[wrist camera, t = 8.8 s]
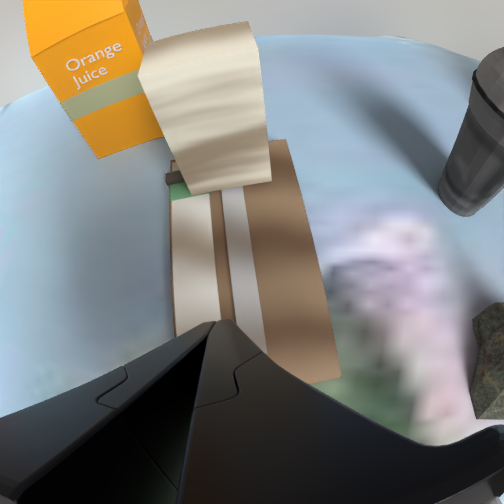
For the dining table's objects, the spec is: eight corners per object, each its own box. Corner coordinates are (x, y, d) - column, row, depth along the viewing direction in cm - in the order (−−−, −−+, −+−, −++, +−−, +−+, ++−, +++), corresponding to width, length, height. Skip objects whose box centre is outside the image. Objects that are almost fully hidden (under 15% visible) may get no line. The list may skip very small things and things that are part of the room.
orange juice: (105, 116, 32) (35, -15, 14) (172, 92, 32) (120, -56, 14) (98, 160, 29) (2, 10, 11) (174, 134, 29) (104, -47, 11)
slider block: (271, 182, 23) (258, 49, 13) (167, 201, 23) (102, 88, 13) (263, 144, 24) (247, 21, 14) (168, 162, 25) (116, 53, 15)
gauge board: (337, 377, 19) (342, 377, 17) (187, 398, 19) (178, 399, 17) (286, 150, 27) (285, 135, 25) (175, 171, 27) (169, 157, 25)
